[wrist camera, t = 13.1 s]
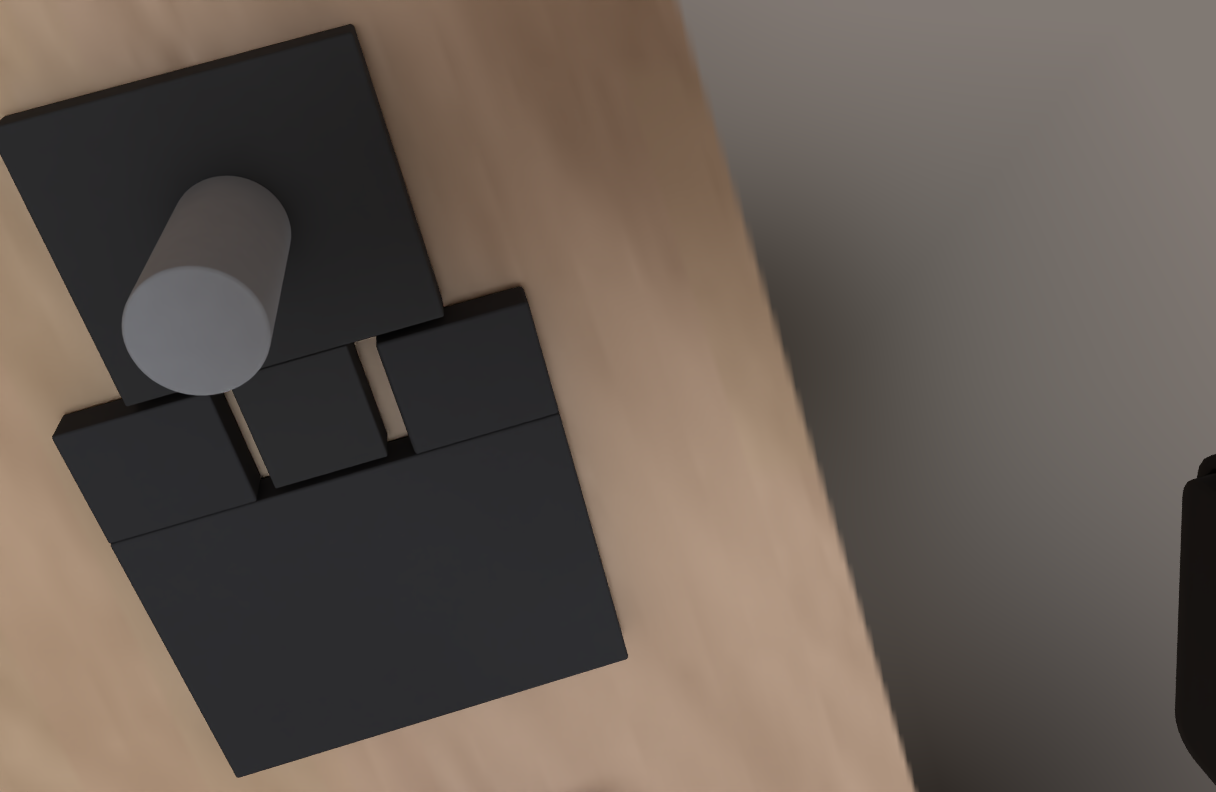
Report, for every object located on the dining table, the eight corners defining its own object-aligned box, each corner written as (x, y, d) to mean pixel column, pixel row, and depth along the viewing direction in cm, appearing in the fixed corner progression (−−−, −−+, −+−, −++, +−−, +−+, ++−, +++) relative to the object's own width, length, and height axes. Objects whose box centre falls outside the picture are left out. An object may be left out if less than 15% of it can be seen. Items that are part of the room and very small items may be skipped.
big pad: (522, 284, 29) (527, 301, 28) (621, 634, 35) (629, 659, 34) (62, 414, 28) (50, 437, 27) (240, 750, 34) (236, 779, 33)
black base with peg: (353, 23, 25) (346, 88, 19) (477, 408, 30) (505, 561, 24) (2, 116, 25) (-123, 215, 19) (186, 492, 30) (136, 671, 24)
